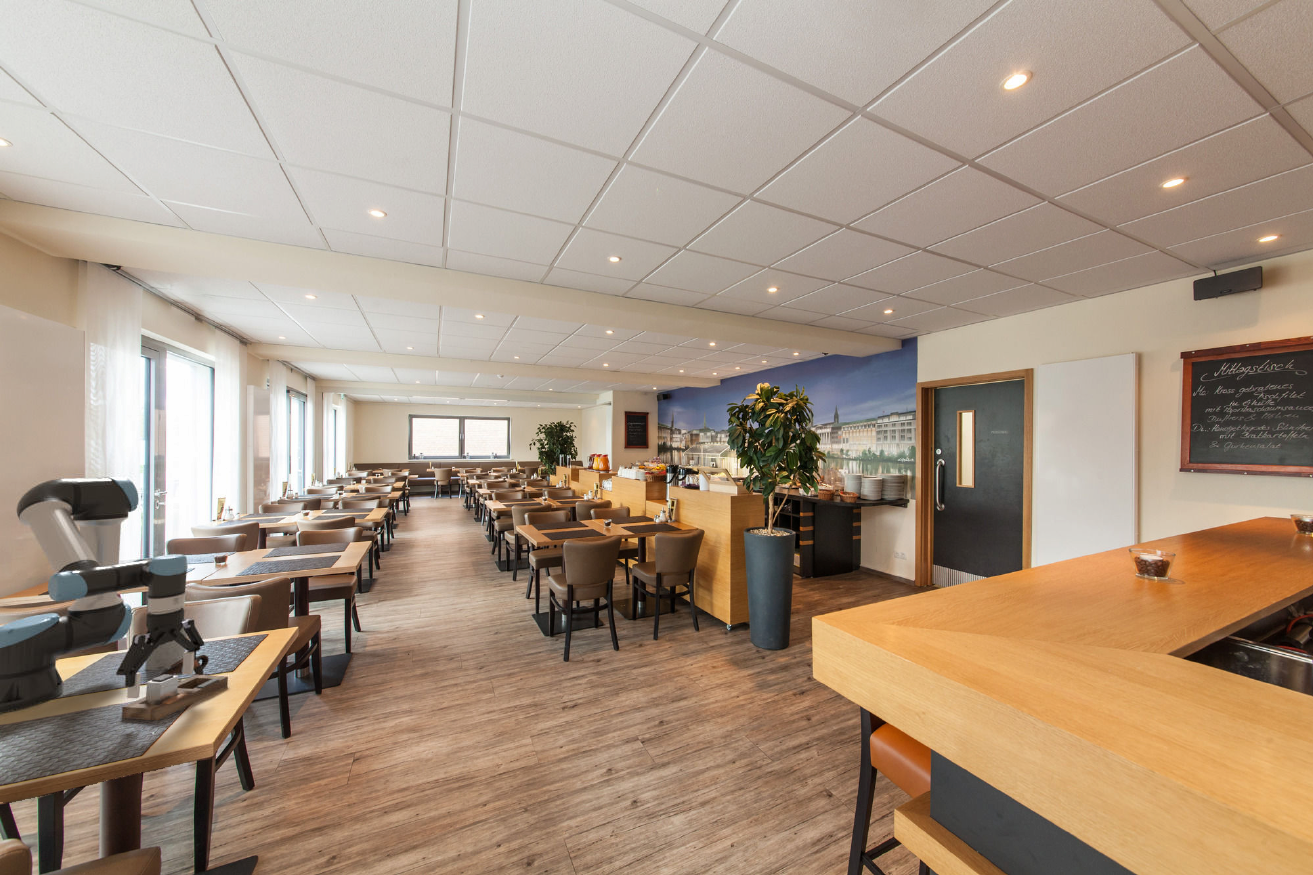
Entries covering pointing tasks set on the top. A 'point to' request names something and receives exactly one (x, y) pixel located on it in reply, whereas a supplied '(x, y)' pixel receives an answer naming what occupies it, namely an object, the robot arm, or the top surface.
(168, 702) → the socket board
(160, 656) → the grey cylinder
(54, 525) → the robot arm
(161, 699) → the plug
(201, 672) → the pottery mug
